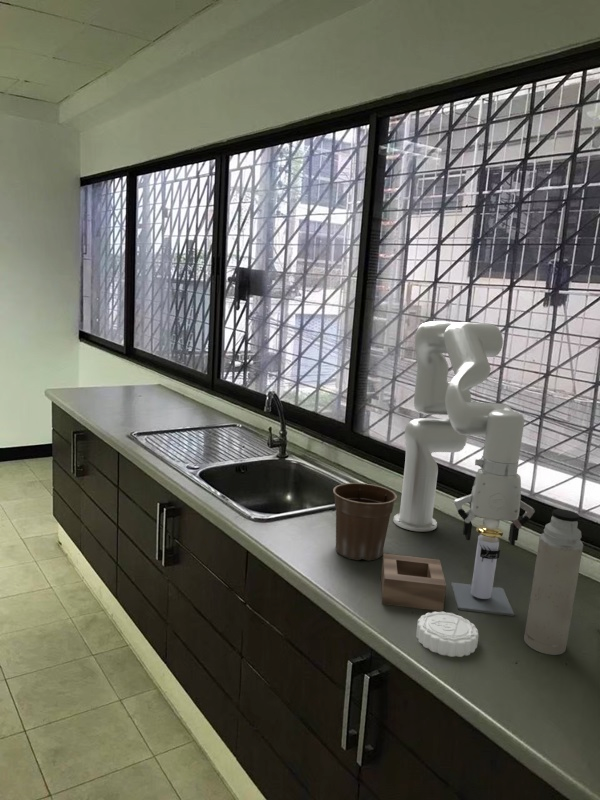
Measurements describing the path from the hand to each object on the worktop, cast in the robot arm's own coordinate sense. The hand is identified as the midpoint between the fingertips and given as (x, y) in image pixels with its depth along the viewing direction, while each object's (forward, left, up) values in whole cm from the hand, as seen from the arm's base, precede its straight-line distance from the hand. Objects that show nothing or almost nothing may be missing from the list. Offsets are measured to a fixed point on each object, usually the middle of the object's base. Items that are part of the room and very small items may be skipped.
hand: (489, 540), depth 145 cm
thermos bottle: (+16, +10, -14) cm, 24 cm away
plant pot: (-19, -28, -14) cm, 37 cm away
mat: (0, 0, -14) cm, 14 cm away
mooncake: (+19, -10, -15) cm, 26 cm away
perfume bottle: (0, 0, -14) cm, 14 cm away
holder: (+1, -16, -14) cm, 21 cm away
